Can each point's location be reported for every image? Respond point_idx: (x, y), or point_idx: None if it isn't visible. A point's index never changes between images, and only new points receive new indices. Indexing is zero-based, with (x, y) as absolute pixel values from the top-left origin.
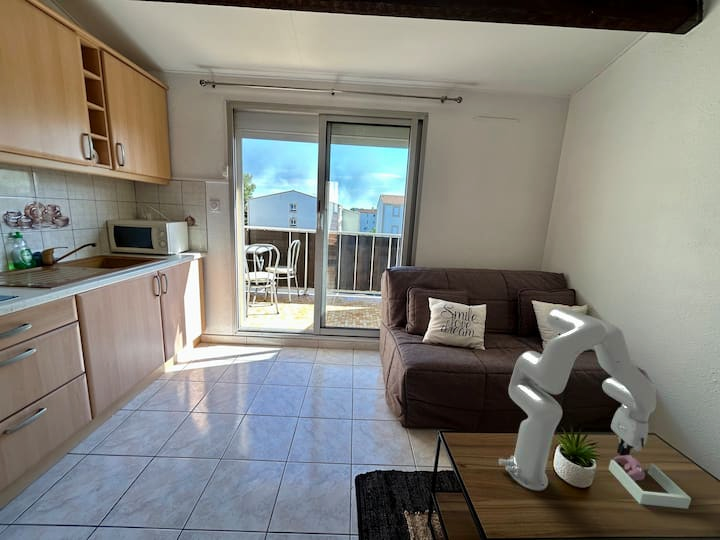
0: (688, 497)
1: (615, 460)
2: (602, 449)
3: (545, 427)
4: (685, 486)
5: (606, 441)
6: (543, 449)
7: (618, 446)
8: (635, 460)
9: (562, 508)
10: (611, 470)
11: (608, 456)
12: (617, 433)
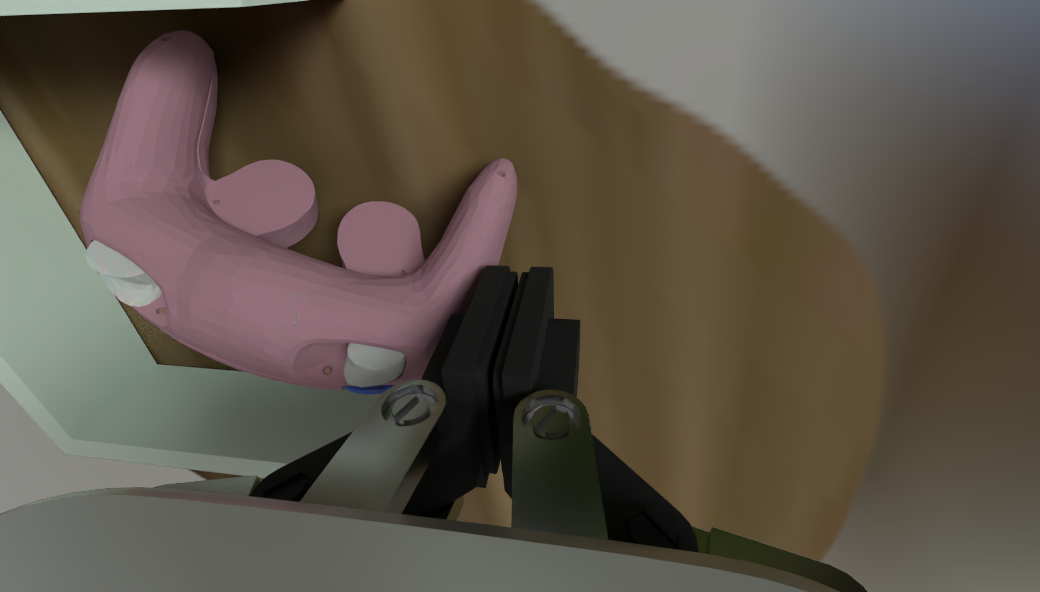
0: (61, 444)
1: (483, 169)
2: (729, 163)
3: None
4: None
5: (858, 330)
6: None
7: (533, 328)
8: (241, 344)
9: None
10: None
11: (597, 152)
12: (502, 590)
